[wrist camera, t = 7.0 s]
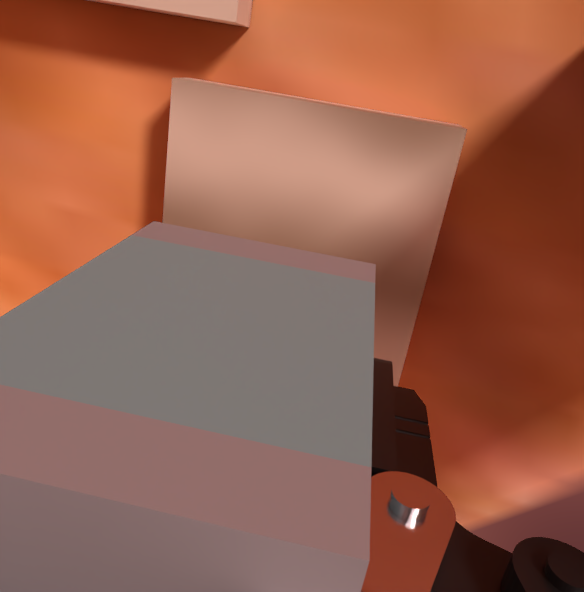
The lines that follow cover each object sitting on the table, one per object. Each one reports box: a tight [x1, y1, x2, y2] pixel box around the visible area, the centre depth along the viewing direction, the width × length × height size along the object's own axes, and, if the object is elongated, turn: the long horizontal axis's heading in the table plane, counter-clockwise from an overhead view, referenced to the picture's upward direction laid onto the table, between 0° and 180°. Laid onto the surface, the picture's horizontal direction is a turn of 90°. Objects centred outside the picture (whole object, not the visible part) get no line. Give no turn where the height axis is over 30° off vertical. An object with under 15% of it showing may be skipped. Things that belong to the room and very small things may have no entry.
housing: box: [0, 221, 376, 592], centre depth 9 cm, size 5×5×8 cm
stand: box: [162, 78, 467, 387], centre depth 21 cm, size 10×10×2 cm
